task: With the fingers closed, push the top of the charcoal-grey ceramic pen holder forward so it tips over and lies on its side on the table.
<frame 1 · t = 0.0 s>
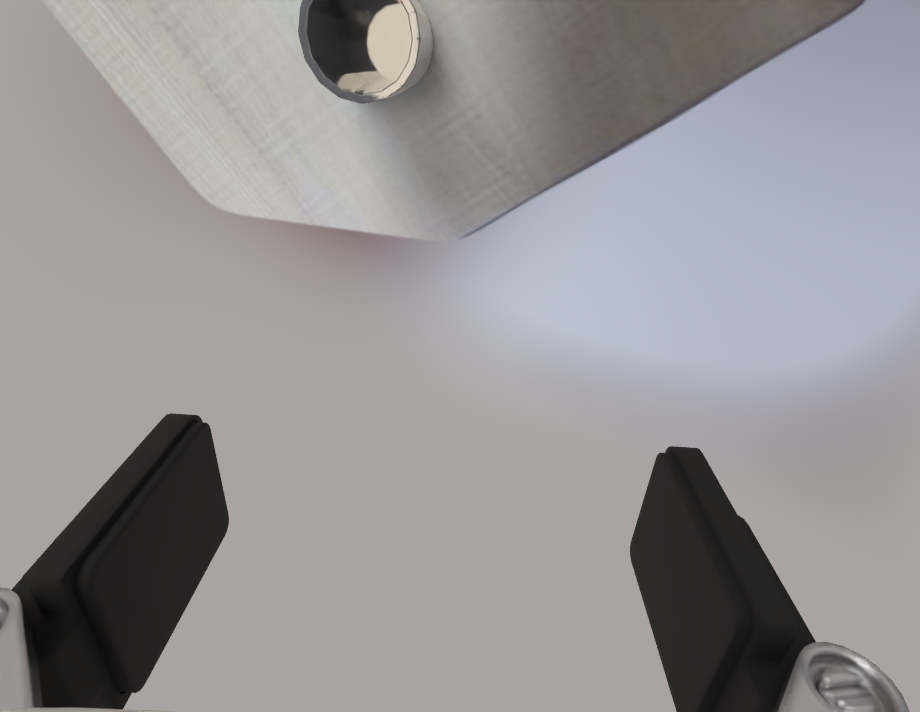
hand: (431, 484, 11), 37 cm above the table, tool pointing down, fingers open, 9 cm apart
pen holder: (385, 41, 40), on the table
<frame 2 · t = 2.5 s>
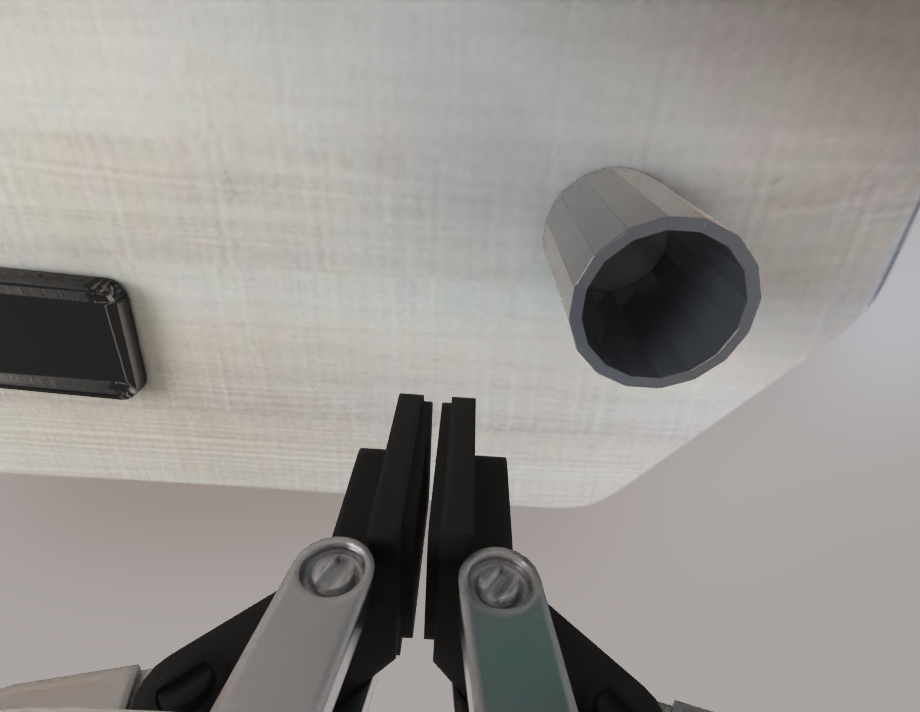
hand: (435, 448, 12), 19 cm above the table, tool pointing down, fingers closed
pen holder: (608, 234, 29), on the table
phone: (16, 324, 33), on the table
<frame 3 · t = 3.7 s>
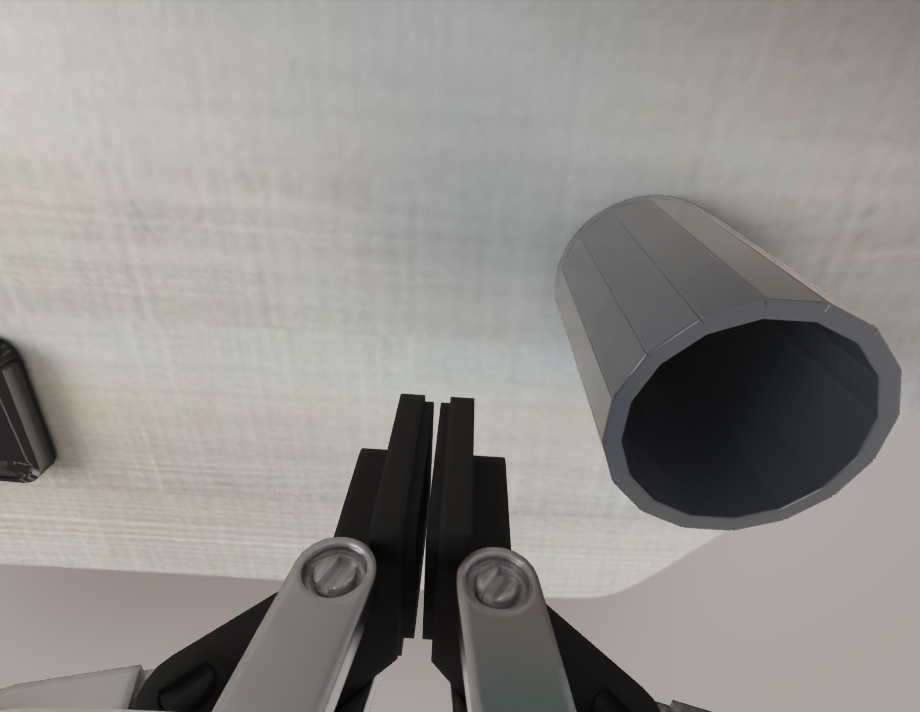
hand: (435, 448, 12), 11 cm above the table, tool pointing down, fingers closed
pen holder: (641, 281, 22), on the table
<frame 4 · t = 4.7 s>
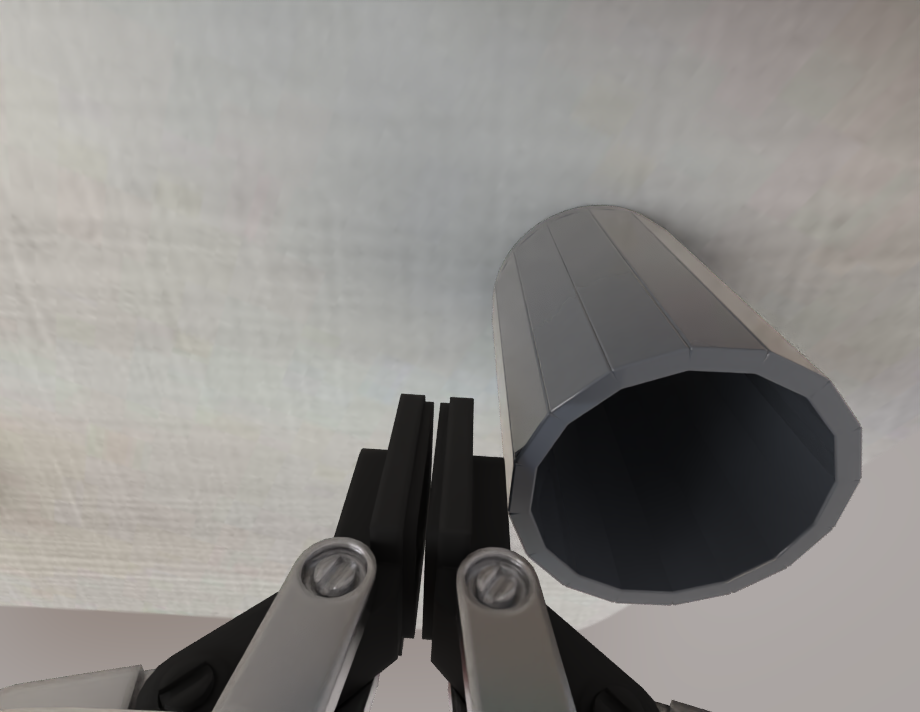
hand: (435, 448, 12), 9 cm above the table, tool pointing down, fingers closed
pen holder: (587, 300, 20), on the table, touching gripper
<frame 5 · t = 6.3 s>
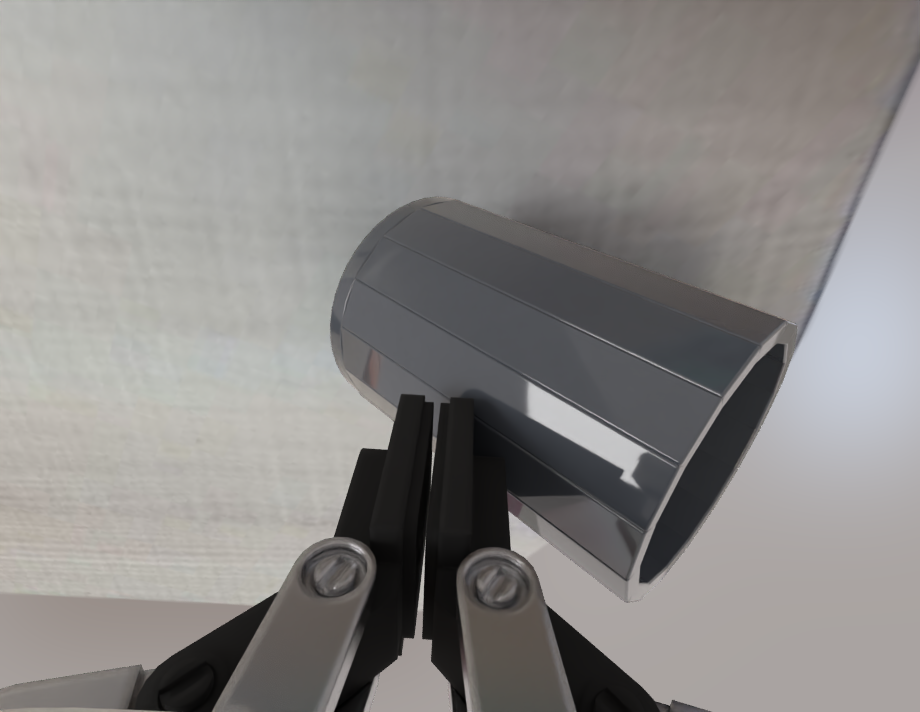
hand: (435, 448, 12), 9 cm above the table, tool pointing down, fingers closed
pen holder: (420, 303, 18), point 2 cm above the table, tilted 46°, touching gripper
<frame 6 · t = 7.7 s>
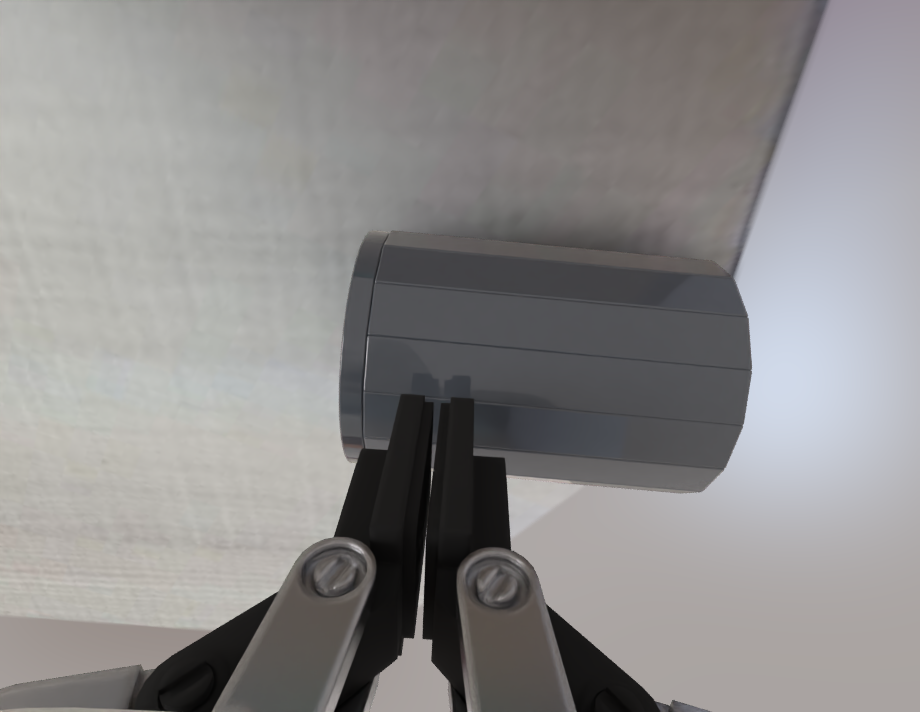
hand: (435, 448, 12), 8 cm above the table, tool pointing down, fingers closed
pen holder: (364, 347, 16), point 4 cm above the table, tilted 90°
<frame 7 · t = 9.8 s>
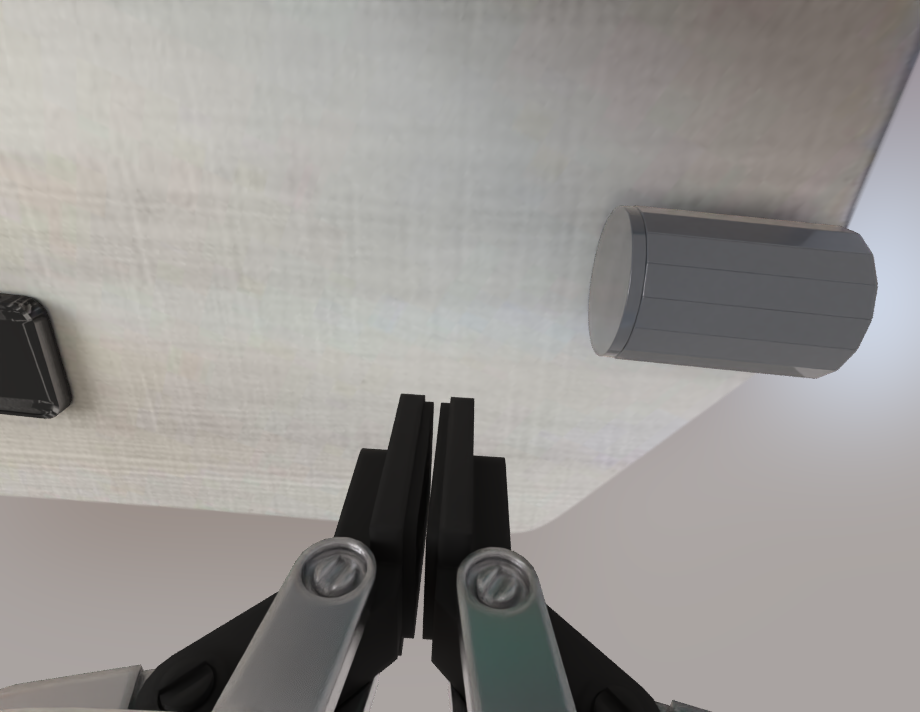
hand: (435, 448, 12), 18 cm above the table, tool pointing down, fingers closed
pen holder: (607, 282, 25), point 3 cm above the table, tilted 90°
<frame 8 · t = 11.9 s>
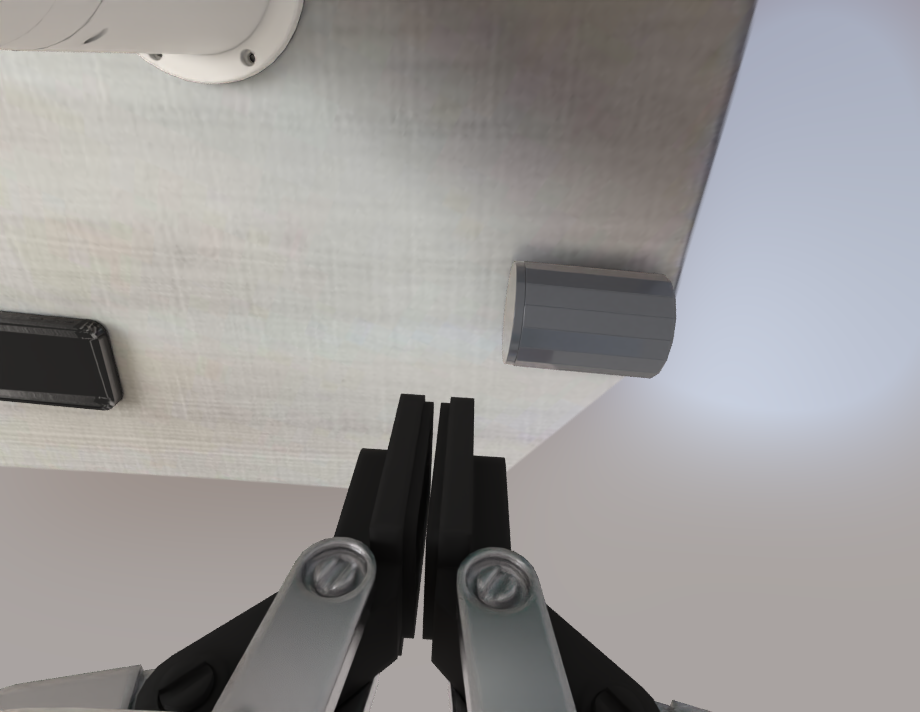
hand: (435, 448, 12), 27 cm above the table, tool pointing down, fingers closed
pen holder: (508, 312, 36), point 3 cm above the table, tilted 90°
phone: (23, 353, 43), on the table
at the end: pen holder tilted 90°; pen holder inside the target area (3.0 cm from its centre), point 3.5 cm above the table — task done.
